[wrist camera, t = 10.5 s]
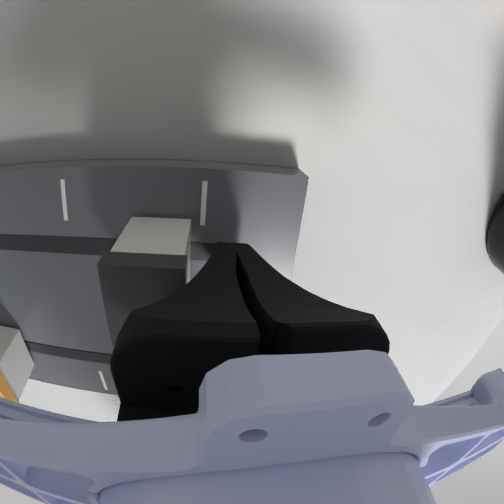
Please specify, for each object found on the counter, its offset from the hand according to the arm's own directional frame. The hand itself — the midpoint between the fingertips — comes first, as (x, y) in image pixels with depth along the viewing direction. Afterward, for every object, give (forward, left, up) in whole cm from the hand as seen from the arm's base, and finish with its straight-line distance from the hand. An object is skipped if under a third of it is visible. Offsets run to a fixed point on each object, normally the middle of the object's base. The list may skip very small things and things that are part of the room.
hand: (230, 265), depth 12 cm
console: (-4, +7, -3) cm, 8 cm away
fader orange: (-7, +13, -1) cm, 15 cm away
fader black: (0, +3, -1) cm, 3 cm away
